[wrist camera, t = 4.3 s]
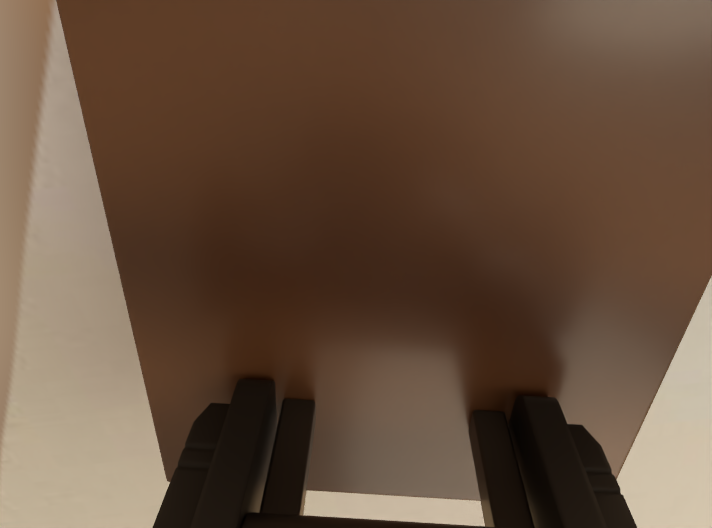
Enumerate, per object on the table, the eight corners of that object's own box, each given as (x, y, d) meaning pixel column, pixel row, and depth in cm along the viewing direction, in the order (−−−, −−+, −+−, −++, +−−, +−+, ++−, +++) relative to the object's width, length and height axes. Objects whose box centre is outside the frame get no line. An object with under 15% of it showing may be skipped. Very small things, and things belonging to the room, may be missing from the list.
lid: (592, 480, 13) (695, 746, 9) (177, 455, 14) (78, 705, 9) (814, -35, 7) (1438, 7, 3) (68, -70, 8) (-361, -76, 3)
